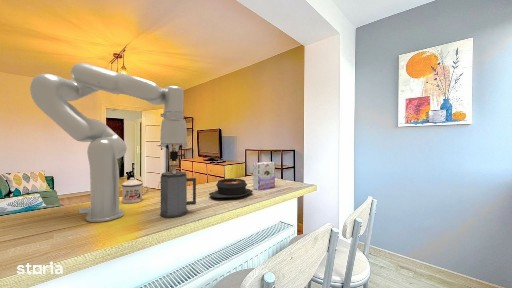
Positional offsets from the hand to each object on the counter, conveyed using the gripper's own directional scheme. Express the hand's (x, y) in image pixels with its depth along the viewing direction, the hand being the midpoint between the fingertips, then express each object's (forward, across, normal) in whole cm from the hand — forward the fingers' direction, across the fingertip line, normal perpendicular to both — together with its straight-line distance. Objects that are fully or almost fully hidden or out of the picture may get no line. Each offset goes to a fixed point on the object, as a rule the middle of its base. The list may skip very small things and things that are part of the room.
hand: (174, 160), depth 95 cm
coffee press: (+22, +2, 0) cm, 22 cm away
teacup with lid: (+22, -20, +24) cm, 38 cm away
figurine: (+22, -5, +19) cm, 30 cm away
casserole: (+22, +28, +23) cm, 43 cm away
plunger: (+20, 0, 0) cm, 20 cm away
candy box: (+22, +51, +37) cm, 67 cm away
